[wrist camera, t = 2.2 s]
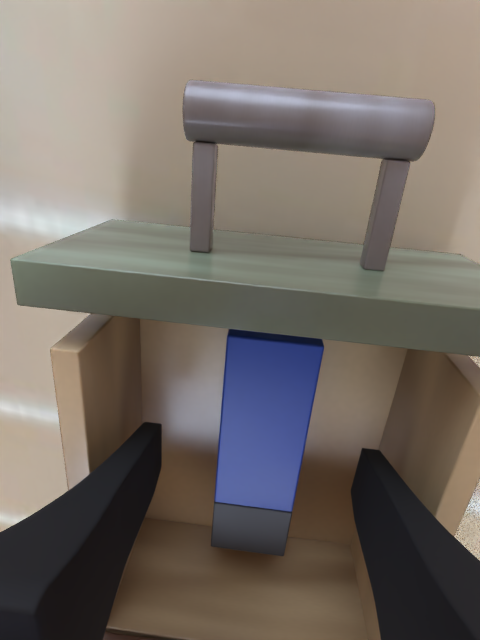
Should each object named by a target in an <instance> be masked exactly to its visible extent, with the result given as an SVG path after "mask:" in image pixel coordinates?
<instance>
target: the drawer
mask: <svg viewBox="0 0 480 640" xmlns="http://www.w3.org/2000/svg"><path fill="white" fill-rule="evenodd" d="M434 119H435V106H434V103H433V102H432V101H431V100H426V99H414V98H402V97H390V96H378V95H367V94H355V93H343V92H331V91H319V90H307V89H295V88H283V87H271V86H259V85H247V84H235V83H223V82H211V81H199V80H189V81H188V82H187V84H186V87H185V90H184V97H183V126H184V132H185V136H186V139H187V140H188V141H192V142H194V143H193V159H192V190H191V222H190V227H184V226H174V225H164V224H154V223H144V222H134V221H124V220H114V219H112V220H109V221H107V222H104V223H102V224H99V225H97V226H94V227H91V228H89V229H86V230H84V231H81V232H79V233H76V234H73V235H71V236H68V237H66V238H63V239H61V240H58V241H55V242H53V243H50V244H48V245H45V246H43V247H40V248H38V249H35V250H32V251H30V252H27V253H25V254H22V255H20V256H17V257H14V258H12V259H11V260H10V261H11V268H12V274H13V280H14V286H15V293H16V299H17V304H18V305H21V306H30V307H39V308H48V309H57V310H66V311H75V312H84V313H91V314H90V315H89V316H88V317H87V318H85V319H84V320H83V321H82V322H81V323H80V324H78V325H77V326H76V327H75V328H74V329H73V330H71V331H70V332H69V333H68V334H67V335H66V336H64V337H63V338H62V339H61V340H60V341H59V342H57V343H56V344H55V345H54V346H53V347H52V348H51V349H50V353H51V361H52V368H53V376H54V384H55V392H56V399H57V407H58V415H59V423H60V430H61V438H62V446H63V454H64V461H65V469H66V477H67V485H68V491H69V490H70V489H71V488H73V487H74V486H75V485H77V484H78V483H79V482H80V481H82V480H83V479H84V478H85V477H87V476H88V475H89V474H90V473H91V472H93V471H94V470H95V469H96V468H97V467H98V466H100V465H101V464H102V463H103V462H104V461H105V460H106V459H107V458H108V457H110V456H111V455H112V454H113V453H114V452H115V451H116V450H117V449H118V448H119V447H120V446H121V445H122V444H123V443H124V442H125V441H126V440H127V439H128V438H129V437H130V436H131V435H132V434H133V433H134V432H135V431H136V430H137V429H138V428H139V427H140V426H141V425H142V424H143V423H144V422H151V423H160V424H162V467H161V471H160V474H159V478H158V482H157V485H156V489H155V492H154V495H153V498H152V500H151V503H150V505H149V508H148V510H147V513H146V515H145V517H144V520H143V522H142V525H141V527H140V530H139V532H138V535H137V537H136V539H135V542H134V544H133V547H132V549H131V552H130V554H129V557H128V559H127V562H126V565H125V568H124V571H123V574H122V577H121V580H120V583H119V587H118V590H117V593H116V596H115V600H114V603H113V606H112V610H111V613H110V617H109V620H108V623H107V627H106V630H105V632H111V633H117V634H124V635H131V636H138V637H144V638H151V639H158V640H381V637H380V630H379V624H378V618H377V612H376V606H375V601H374V596H373V591H372V587H371V583H370V579H369V575H368V571H367V568H366V564H365V560H364V556H363V552H362V548H361V544H360V540H359V537H358V533H357V529H356V524H355V520H354V514H353V507H352V499H351V487H352V483H353V480H354V476H355V472H356V469H357V465H358V461H359V458H360V454H361V450H362V448H367V449H375V450H380V451H381V453H382V454H383V455H384V456H385V458H386V459H387V460H388V461H389V463H390V464H391V465H392V467H393V468H394V469H395V470H396V472H397V473H398V474H399V475H400V477H401V478H402V479H403V481H404V482H405V483H406V484H407V486H408V487H409V488H410V489H411V490H412V492H413V493H414V494H415V495H416V496H417V498H418V499H419V500H420V501H421V502H422V503H423V505H424V506H425V507H426V508H427V509H428V510H429V511H430V512H431V513H432V515H433V516H434V517H435V518H436V519H437V520H438V521H439V522H440V523H441V524H442V525H443V526H444V527H445V528H446V529H447V530H448V531H449V533H450V534H451V535H453V536H454V535H455V533H456V531H457V529H458V526H459V524H460V522H461V520H462V517H463V515H464V513H465V511H466V508H467V506H468V504H469V502H470V499H471V497H472V495H473V493H474V491H475V488H476V486H477V484H478V482H479V479H480V368H479V367H478V366H477V365H476V363H475V362H474V361H473V360H472V359H471V358H470V357H469V356H478V357H480V264H478V263H476V262H474V261H472V260H470V259H469V258H467V257H465V256H463V255H461V254H452V253H442V252H432V251H422V250H412V249H402V248H392V247H390V245H391V241H392V237H393V233H394V229H395V224H396V220H397V216H398V212H399V208H400V204H401V200H402V196H403V191H404V187H405V183H406V179H407V175H408V171H409V167H410V162H409V161H412V162H413V161H416V160H418V159H419V158H420V157H421V156H422V154H423V153H424V151H425V149H426V147H427V145H428V142H429V140H430V137H431V133H432V130H433V125H434ZM217 144H225V145H236V146H247V147H258V148H269V149H280V150H291V151H302V152H313V153H324V154H335V155H346V156H357V157H368V158H379V159H383V160H382V162H381V166H380V171H379V176H378V180H377V185H376V190H375V194H374V199H373V204H372V208H371V213H370V218H369V222H368V227H367V232H366V236H365V241H364V245H363V244H353V243H343V242H333V241H323V240H313V239H303V238H293V237H283V236H273V235H263V234H253V233H243V232H233V231H223V230H213V229H214V211H215V193H216V175H217V157H218V145H217ZM229 329H236V330H245V331H254V332H263V333H272V334H281V335H290V336H299V337H308V338H317V339H322V341H323V344H324V351H323V356H322V361H321V367H320V372H319V377H318V382H317V387H316V392H315V398H314V403H313V408H312V413H311V418H310V423H309V429H308V434H307V439H306V444H305V449H304V454H303V460H302V465H301V470H300V475H299V480H298V485H297V491H296V496H295V501H294V506H293V510H292V517H291V522H290V527H289V533H288V538H287V543H286V548H285V553H284V556H276V555H269V554H262V553H254V552H247V551H240V550H232V549H225V548H218V547H212V546H211V534H212V521H213V508H214V496H215V483H216V470H217V457H218V445H219V432H220V419H221V406H222V393H223V381H224V368H225V355H226V342H227V334H228V331H229ZM468 355H469V356H468Z"/></svg>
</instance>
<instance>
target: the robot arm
mask: <svg viewBox="0 0 480 640" xmlns="http://www.w3.org/2000/svg"><path fill="white" fill-rule="evenodd" d="M161 467H162V424H160V423H151V422H144V423H143V424H142V425H141V426H140V427H139V428H138V429H137V430H136V431H135V432H134V433H133V434H132V435H131V436H130V437H129V438H128V439H127V440H126V441H125V442H124V443H123V444H122V445H121V446H120V447H119V448H118V449H117V450H116V451H115V452H114V453H113V454H112V455H111V456H110V457H108V458H107V459H106V460H105V461H104V462H103V463H102V464H101V465H100V466H98V467H97V468H96V469H95V470H94V471H93V472H91V473H90V474H89V475H88V476H87V477H85V478H84V479H83V480H82V481H80V482H79V483H78V484H77V485H75V486H74V487H73V488H71V489H70V490H69V491H67V492H66V493H64V494H63V495H62V496H60V497H59V498H57V499H56V500H54V501H53V502H51V503H50V504H48V505H47V506H45V507H44V508H42V509H41V510H39V511H37V512H36V513H34V514H33V515H31V516H29V517H28V518H26V519H24V520H22V521H20V522H19V523H17V524H15V525H13V526H11V527H10V528H8V529H6V530H4V531H2V532H0V640H103V637H104V634H105V630H106V627H107V623H108V620H109V617H110V613H111V610H112V606H113V603H114V600H115V596H116V593H117V590H118V587H119V583H120V580H121V577H122V574H123V571H124V568H125V565H126V562H127V559H128V557H129V554H130V552H131V549H132V547H133V544H134V542H135V539H136V537H137V535H138V532H139V530H140V527H141V525H142V522H143V520H144V517H145V515H146V513H147V510H148V508H149V505H150V503H151V500H152V498H153V495H154V492H155V489H156V485H157V482H158V478H159V474H160V471H161ZM351 499H352V507H353V514H354V520H355V524H356V529H357V533H358V537H359V540H360V544H361V548H362V552H363V556H364V560H365V564H366V568H367V571H368V575H369V579H370V583H371V587H372V591H373V596H374V601H375V606H376V612H377V618H378V624H379V630H380V637H381V640H480V561H479V560H478V559H477V558H476V557H475V556H474V555H473V554H471V553H470V552H469V551H468V550H467V549H466V548H465V547H464V546H463V545H462V544H461V543H460V542H459V541H458V540H457V539H456V538H455V537H454V536H453V535H451V534H450V533H449V531H448V530H447V529H446V528H445V527H444V526H443V525H442V524H441V523H440V522H439V521H438V520H437V519H436V518H435V517H434V516H433V515H432V513H431V512H430V511H429V510H428V509H427V508H426V507H425V506H424V505H423V503H422V502H421V501H420V500H419V499H418V498H417V496H416V495H415V494H414V493H413V492H412V490H411V489H410V488H409V487H408V486H407V484H406V483H405V482H404V481H403V479H402V478H401V477H400V475H399V474H398V473H397V472H396V470H395V469H394V468H393V467H392V465H391V464H390V463H389V461H388V460H387V459H386V458H385V456H384V455H383V454H382V453H381V451H380V450H375V449H367V448H362V450H361V454H360V458H359V461H358V465H357V469H356V472H355V476H354V480H353V483H352V487H351Z"/></svg>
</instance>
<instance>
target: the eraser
mask: <svg viewBox="0 0 480 640" xmlns="http://www.w3.org/2000/svg"><path fill="white" fill-rule="evenodd" d="M323 351H324V344H323V341H322V339H317V338H308V337H299V336H290V335H281V334H272V333H263V332H254V331H245V330H236V329H229V331H228V334H227V342H226V355H225V368H224V381H223V393H222V406H221V419H220V432H219V445H218V457H217V470H216V483H215V496H214V508H213V521H212V534H211V546H212V547H218V548H225V549H232V550H240V551H247V552H254V553H262V554H269V555H276V556H284V553H285V548H286V543H287V538H288V533H289V527H290V522H291V517H292V510H293V506H294V501H295V496H296V491H297V485H298V480H299V475H300V470H301V465H302V460H303V454H304V449H305V444H306V439H307V434H308V429H309V423H310V418H311V413H312V408H313V403H314V398H315V392H316V387H317V382H318V377H319V372H320V367H321V361H322V356H323Z"/></svg>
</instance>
